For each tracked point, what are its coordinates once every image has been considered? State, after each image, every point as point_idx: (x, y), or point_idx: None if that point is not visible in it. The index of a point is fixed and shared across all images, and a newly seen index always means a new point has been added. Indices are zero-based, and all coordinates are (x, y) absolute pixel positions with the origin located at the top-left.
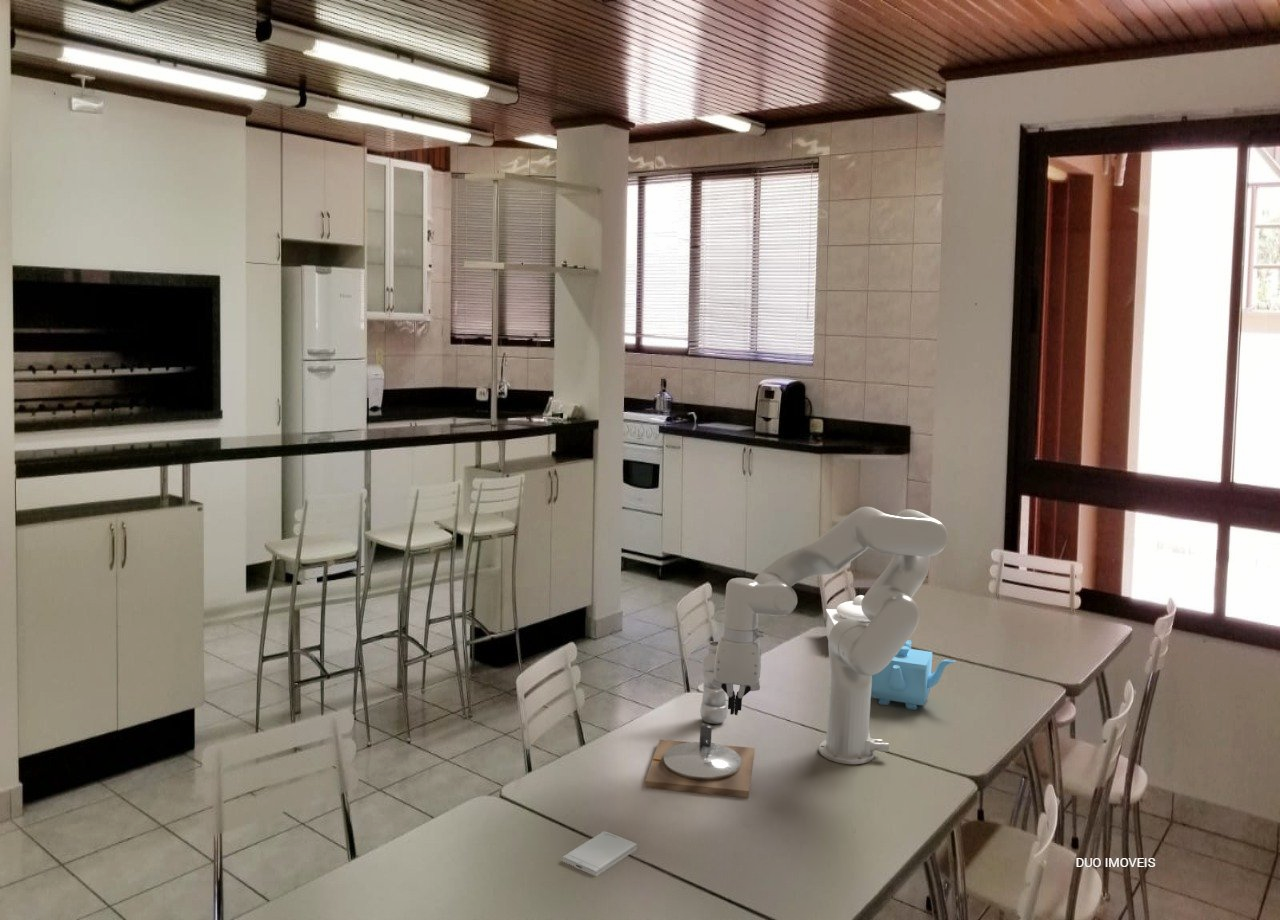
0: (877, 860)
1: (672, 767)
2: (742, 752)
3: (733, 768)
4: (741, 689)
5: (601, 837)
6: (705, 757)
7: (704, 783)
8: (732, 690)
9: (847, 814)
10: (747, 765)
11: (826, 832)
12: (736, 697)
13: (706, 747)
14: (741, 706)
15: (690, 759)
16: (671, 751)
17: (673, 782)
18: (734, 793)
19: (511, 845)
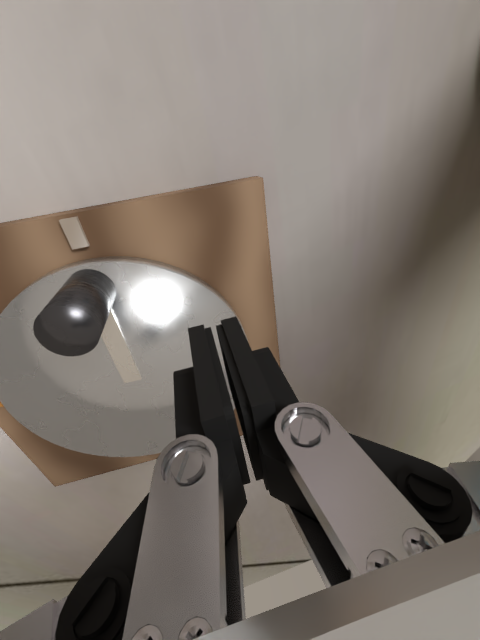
0: (450, 458)
1: (86, 453)
2: (228, 239)
3: None
4: (344, 570)
5: None
6: (141, 373)
7: None
8: (239, 559)
9: (449, 384)
10: (262, 321)
11: (403, 439)
12: (265, 479)
13: (111, 317)
14: (270, 350)
15: (106, 402)
16: (13, 386)
17: (119, 465)
18: None
19: (5, 624)
